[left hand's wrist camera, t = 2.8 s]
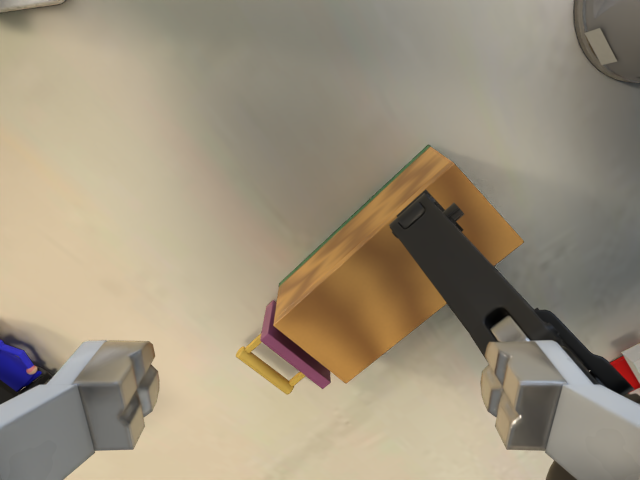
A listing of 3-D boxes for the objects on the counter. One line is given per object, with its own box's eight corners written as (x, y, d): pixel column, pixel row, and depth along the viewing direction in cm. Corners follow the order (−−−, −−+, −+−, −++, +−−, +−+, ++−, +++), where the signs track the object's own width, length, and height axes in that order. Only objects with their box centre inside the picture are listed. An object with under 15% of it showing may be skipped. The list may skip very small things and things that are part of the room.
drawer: (291, 376, 52) (288, 416, 46) (236, 333, 50) (225, 370, 44) (458, 236, 45) (480, 262, 39) (404, 178, 43) (419, 197, 37)
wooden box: (340, 335, 51) (346, 384, 43) (279, 283, 48) (272, 325, 40) (488, 211, 45) (524, 242, 38) (428, 144, 43) (454, 162, 35)
